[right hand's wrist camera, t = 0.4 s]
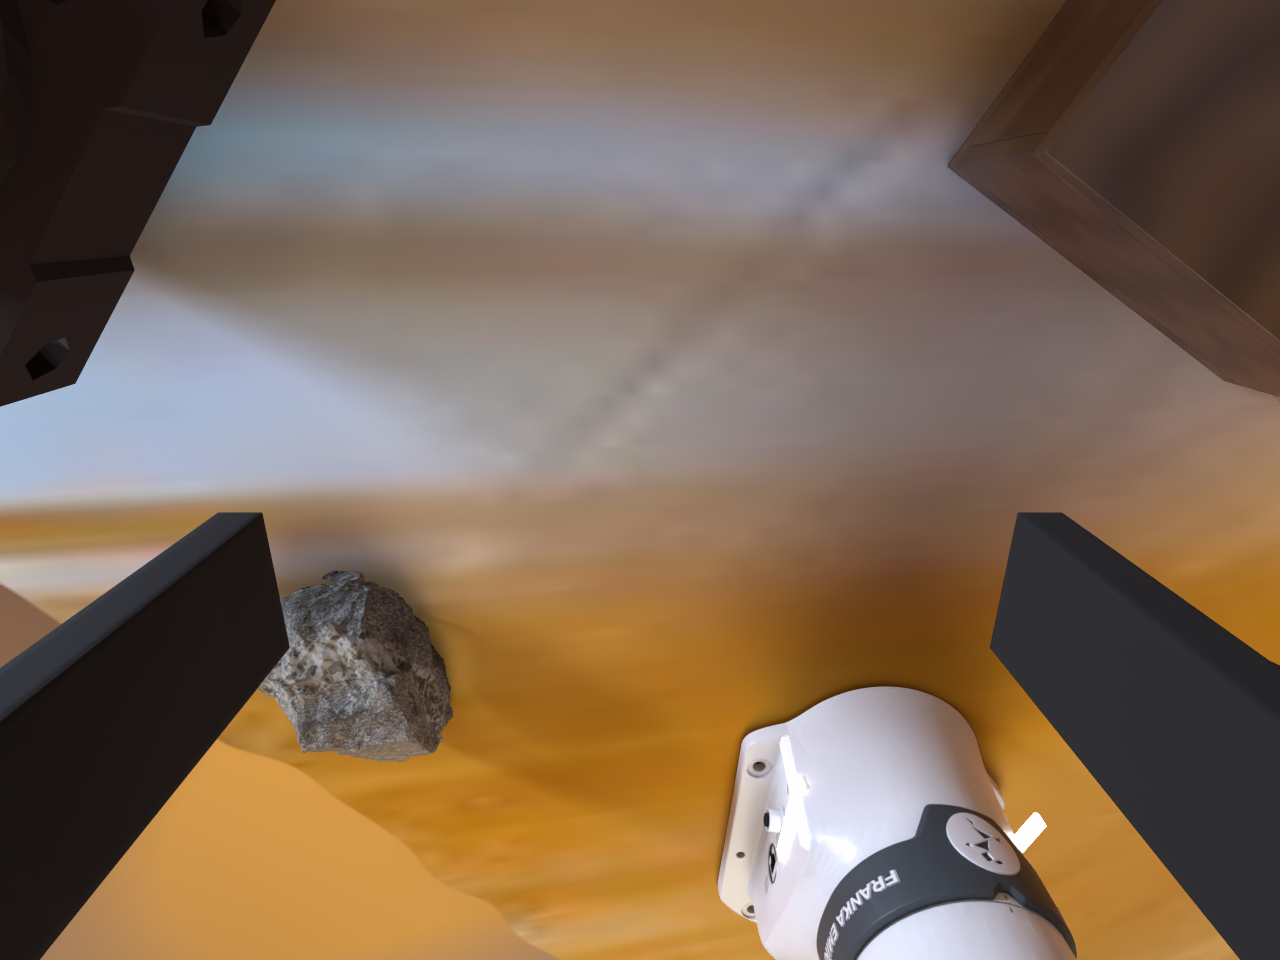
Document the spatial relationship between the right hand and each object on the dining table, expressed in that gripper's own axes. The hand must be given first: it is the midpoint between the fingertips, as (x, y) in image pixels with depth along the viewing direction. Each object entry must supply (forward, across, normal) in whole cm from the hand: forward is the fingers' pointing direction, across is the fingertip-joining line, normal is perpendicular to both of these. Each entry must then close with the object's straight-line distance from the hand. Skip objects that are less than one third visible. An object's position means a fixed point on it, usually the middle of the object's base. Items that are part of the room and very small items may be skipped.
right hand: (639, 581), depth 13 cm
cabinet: (+27, +26, +7) cm, 39 cm away
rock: (+27, -17, -20) cm, 38 cm away
